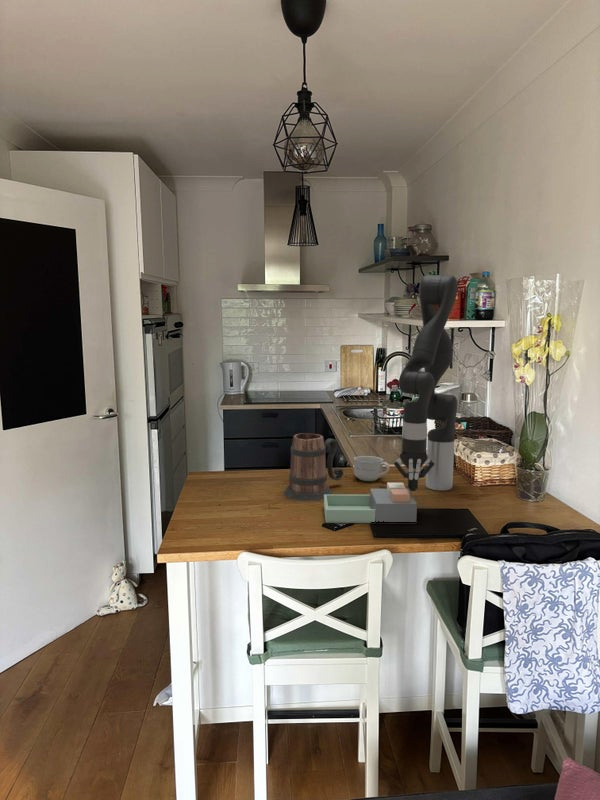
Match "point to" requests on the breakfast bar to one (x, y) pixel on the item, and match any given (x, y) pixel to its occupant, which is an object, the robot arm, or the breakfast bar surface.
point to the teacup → (369, 467)
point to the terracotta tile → (399, 495)
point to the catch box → (348, 509)
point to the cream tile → (395, 486)
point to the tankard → (311, 467)
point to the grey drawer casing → (392, 507)
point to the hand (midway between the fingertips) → (412, 490)
